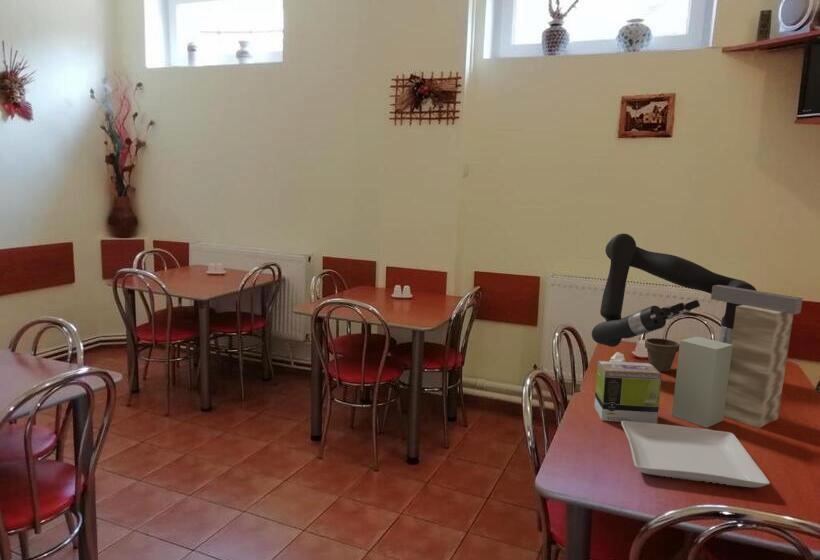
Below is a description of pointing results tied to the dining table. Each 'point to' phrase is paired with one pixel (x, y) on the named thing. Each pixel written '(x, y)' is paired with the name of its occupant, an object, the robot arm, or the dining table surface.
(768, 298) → the metal bar
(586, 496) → the dining table surface
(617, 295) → the robot arm
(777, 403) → the tall stand
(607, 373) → the tea box
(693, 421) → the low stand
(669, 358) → the flower pot
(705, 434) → the square plate
